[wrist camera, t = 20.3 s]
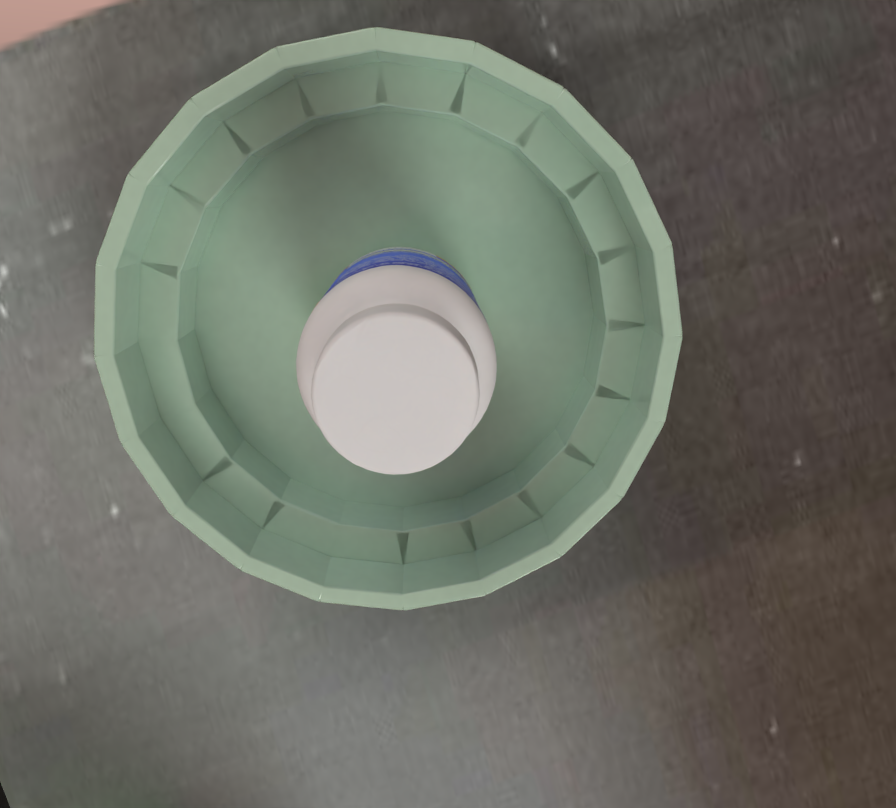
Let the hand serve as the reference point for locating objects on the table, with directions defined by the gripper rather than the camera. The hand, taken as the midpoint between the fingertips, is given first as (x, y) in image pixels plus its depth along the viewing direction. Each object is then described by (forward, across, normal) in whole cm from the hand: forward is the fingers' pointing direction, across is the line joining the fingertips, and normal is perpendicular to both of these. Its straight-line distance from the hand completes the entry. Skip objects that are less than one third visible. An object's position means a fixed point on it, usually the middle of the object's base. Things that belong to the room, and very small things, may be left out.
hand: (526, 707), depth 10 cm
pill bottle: (+20, -2, +2) cm, 20 cm away
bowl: (+20, -2, +2) cm, 21 cm away
